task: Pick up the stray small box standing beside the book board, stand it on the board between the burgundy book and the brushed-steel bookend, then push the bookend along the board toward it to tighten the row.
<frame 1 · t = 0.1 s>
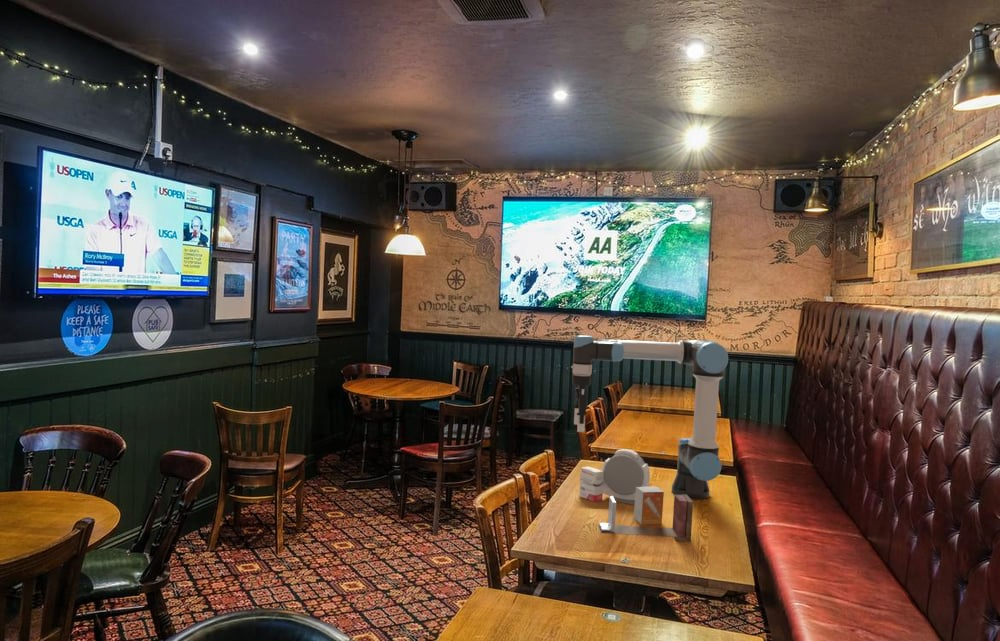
hand: (579, 428, 257), 28 cm above the table, fingers open, 13 cm apart
ink box: (590, 498, 258), on the table
bookend: (607, 513, 221), point 7 cm above the table, slide at 0.0 cm
small box: (647, 525, 231), on the table
alarm clock: (623, 501, 257), on the table
book board: (643, 535, 221), on the table
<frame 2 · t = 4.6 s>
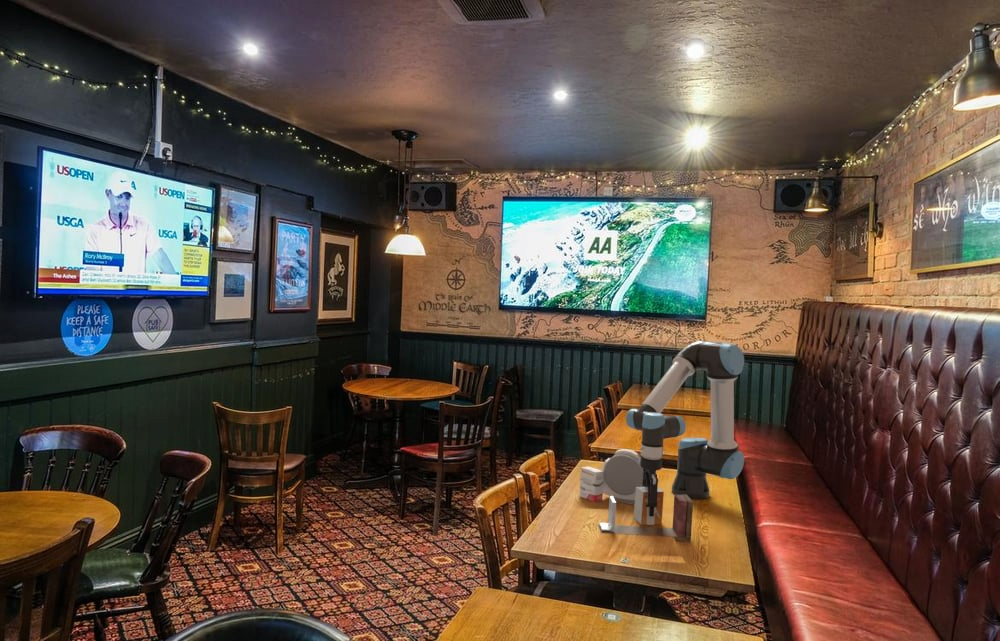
hand: (647, 520, 231), 2 cm above the table, fingers closed on small box, 7 cm apart
small box: (647, 525, 231), on the table, touching gripper
everything else where it was.
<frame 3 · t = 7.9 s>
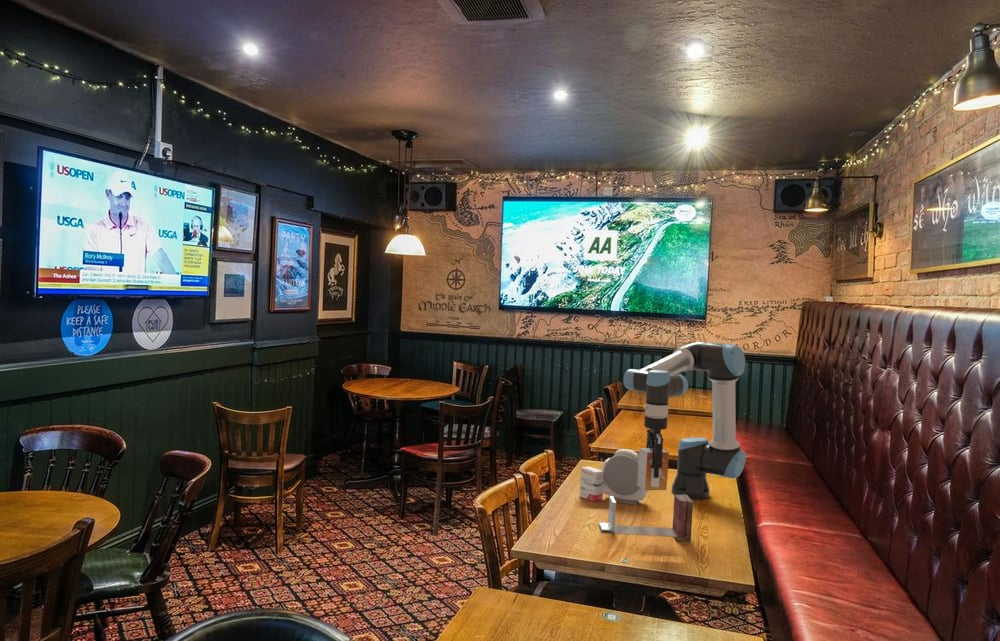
hand: (652, 483, 220), 18 cm above the table, fingers closed on small box, 7 cm apart
ink box: (590, 498, 258), on the table, touching alarm clock
small box: (651, 488, 220), point 16 cm above the table, touching gripper
alarm clock: (623, 501, 257), on the table, touching ink box
everything else where it was.
when the fingers open (4 cm above the table, at t = 11.0 s): small box stays where it is, resting on book board.
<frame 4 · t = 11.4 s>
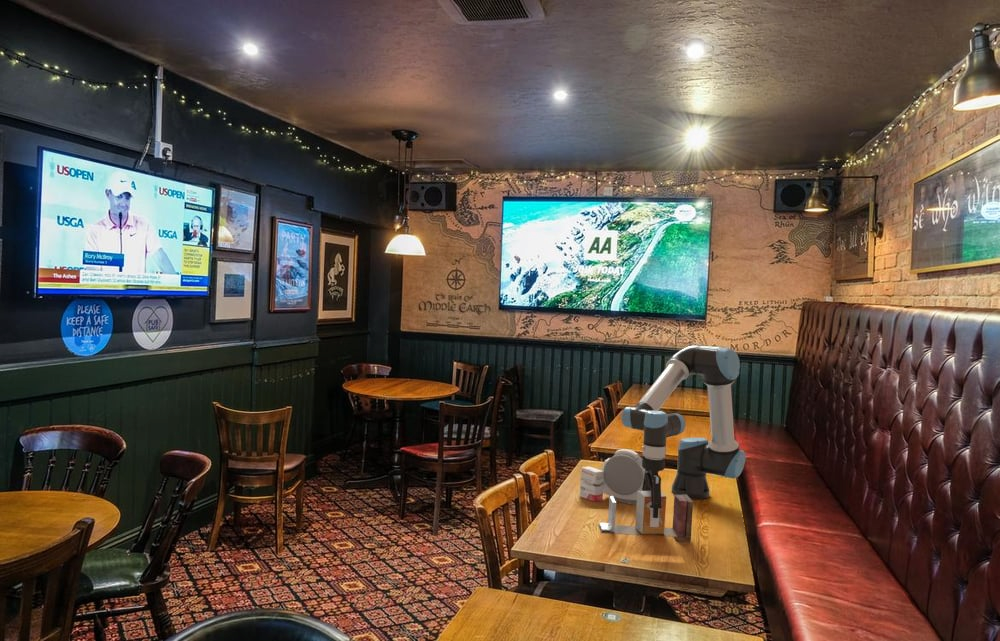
hand: (650, 520, 221), 5 cm above the table, fingers open, 12 cm apart
small box: (649, 531, 221), point 1 cm above the table, touching book board
everything else where it was.
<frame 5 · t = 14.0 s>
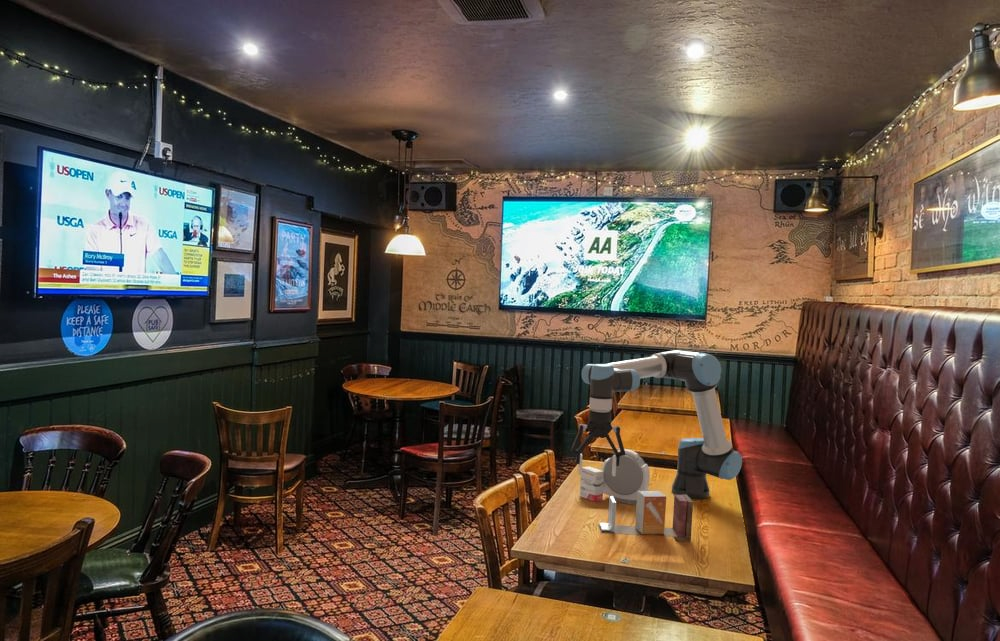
hand: (596, 474, 220), 20 cm above the table, fingers open, 11 cm apart
ink box: (591, 498, 258), on the table
alarm clock: (623, 501, 257), on the table
everything else where it was.
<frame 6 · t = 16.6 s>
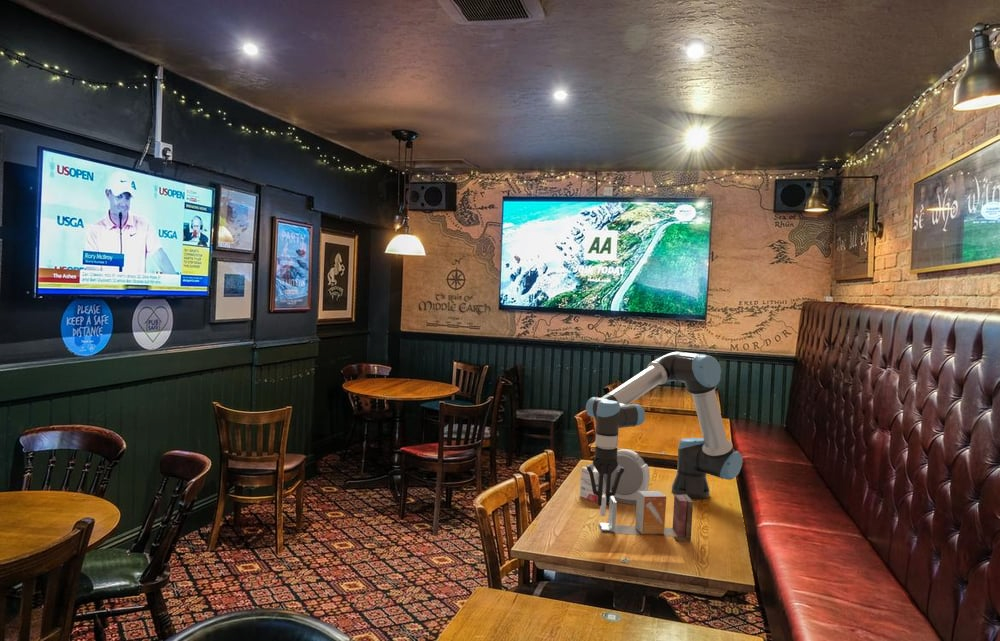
hand: (602, 514, 221), 6 cm above the table, fingers closed
bookend: (608, 513, 221), point 7 cm above the table, slide at 0.2 cm, touching gripper
everything else where it was.
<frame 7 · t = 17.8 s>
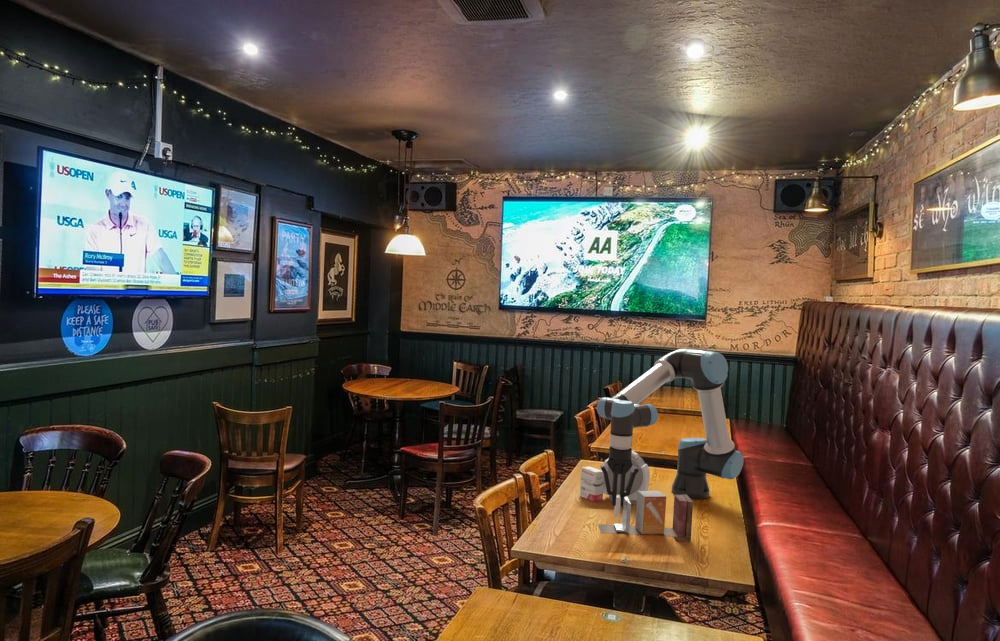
hand: (616, 515, 221), 6 cm above the table, fingers closed
bookend: (622, 514, 221), point 7 cm above the table, slide at 4.9 cm, touching gripper
everything else where it was.
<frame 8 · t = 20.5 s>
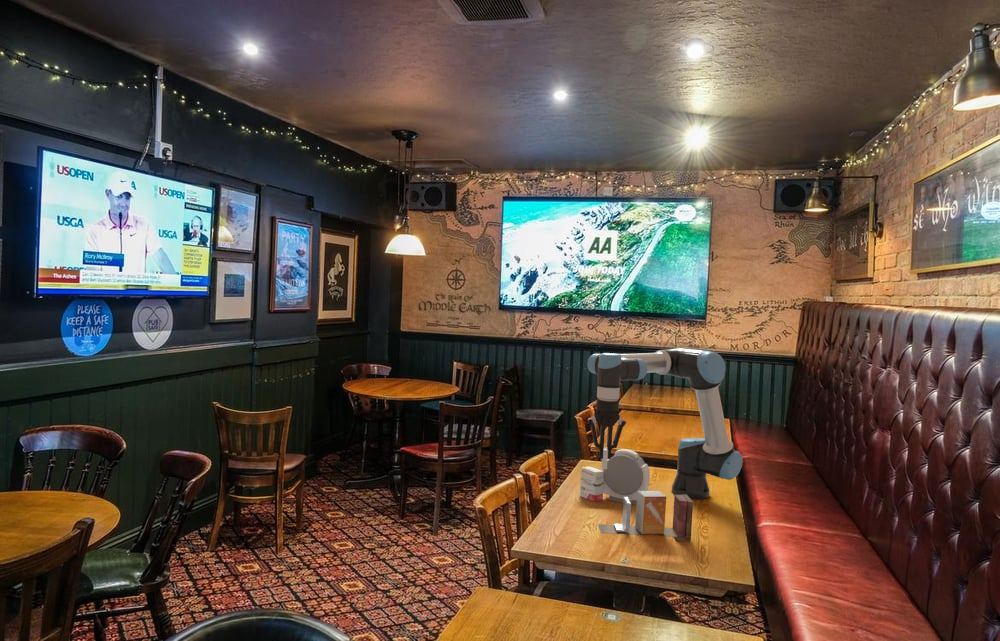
hand: (604, 467, 220), 22 cm above the table, fingers closed
bookend: (622, 514, 221), point 7 cm above the table, slide at 4.9 cm
everything else where it was.
at the end: small box inside the target area (0.0 cm from its centre), point 1.3 cm above the table; small box tilted 0°; bookend slide at 4.9 cm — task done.
